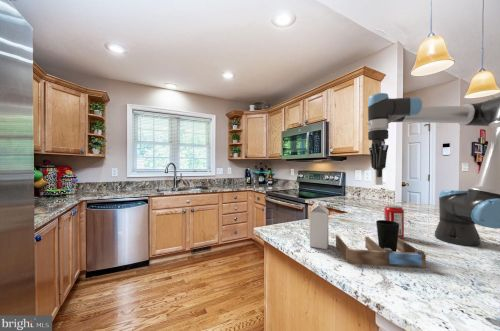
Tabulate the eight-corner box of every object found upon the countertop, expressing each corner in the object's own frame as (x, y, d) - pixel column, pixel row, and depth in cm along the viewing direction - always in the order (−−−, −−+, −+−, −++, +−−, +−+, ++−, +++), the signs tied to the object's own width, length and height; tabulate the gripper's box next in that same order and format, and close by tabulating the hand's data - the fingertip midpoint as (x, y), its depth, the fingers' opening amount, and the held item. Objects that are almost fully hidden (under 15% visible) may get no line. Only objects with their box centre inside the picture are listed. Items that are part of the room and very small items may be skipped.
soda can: (397, 240, 96) (397, 208, 96) (380, 235, 103) (380, 205, 103) (407, 238, 99) (407, 206, 99) (390, 233, 107) (390, 203, 107)
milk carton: (328, 244, 92) (328, 201, 92) (327, 249, 86) (327, 203, 86) (312, 241, 95) (311, 200, 95) (309, 247, 89) (309, 202, 89)
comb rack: (399, 249, 86) (398, 235, 86) (426, 268, 70) (426, 252, 70) (335, 245, 90) (335, 232, 90) (347, 263, 73) (347, 248, 73)
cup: (403, 257, 78) (403, 225, 78) (381, 255, 80) (380, 224, 80) (393, 249, 86) (393, 220, 86) (373, 248, 87) (373, 219, 87)
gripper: (363, 133, 98) (363, 183, 97) (375, 128, 85) (375, 185, 85) (380, 132, 96) (380, 183, 96) (395, 127, 84) (395, 186, 83)
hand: (378, 184), depth 90 cm, fingers closed
